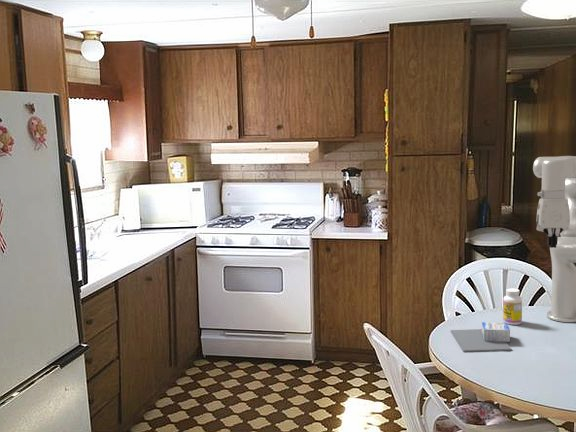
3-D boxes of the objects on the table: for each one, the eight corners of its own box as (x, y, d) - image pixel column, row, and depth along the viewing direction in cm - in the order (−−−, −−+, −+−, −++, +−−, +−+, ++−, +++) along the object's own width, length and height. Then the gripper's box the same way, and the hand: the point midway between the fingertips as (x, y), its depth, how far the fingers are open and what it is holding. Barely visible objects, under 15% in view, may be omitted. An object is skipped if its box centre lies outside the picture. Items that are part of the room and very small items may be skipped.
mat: (450, 331, 227) (450, 330, 227) (494, 330, 226) (494, 328, 226) (463, 351, 207) (463, 350, 207) (511, 350, 206) (511, 348, 206)
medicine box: (510, 329, 212) (484, 329, 213) (510, 342, 212) (483, 341, 214) (506, 322, 219) (481, 321, 221) (506, 334, 220) (481, 333, 222)
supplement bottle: (499, 320, 236) (500, 288, 234) (515, 318, 237) (515, 286, 235) (509, 326, 230) (509, 293, 228) (525, 324, 231) (525, 291, 229)
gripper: (534, 197, 208) (534, 250, 211) (580, 195, 207) (578, 248, 210) (527, 194, 215) (526, 245, 218) (570, 192, 215) (569, 244, 217)
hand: (552, 246), depth 214 cm, fingers closed
